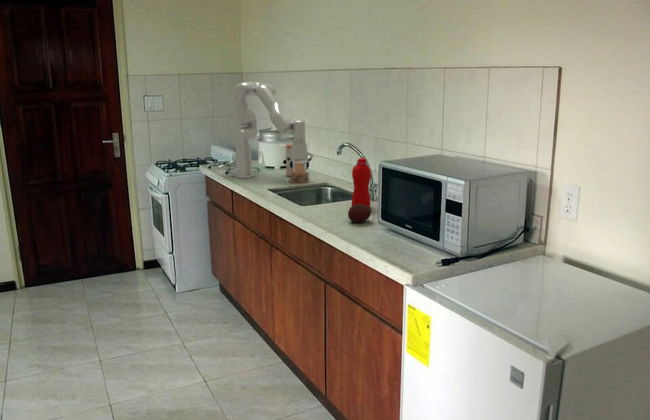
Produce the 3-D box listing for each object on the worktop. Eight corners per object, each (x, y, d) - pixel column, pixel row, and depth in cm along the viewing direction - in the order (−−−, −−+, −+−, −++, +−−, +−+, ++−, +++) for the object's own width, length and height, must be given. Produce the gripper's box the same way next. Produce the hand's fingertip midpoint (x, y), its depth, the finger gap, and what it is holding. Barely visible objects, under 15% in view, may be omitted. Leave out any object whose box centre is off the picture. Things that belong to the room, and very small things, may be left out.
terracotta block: (294, 174, 325) (294, 164, 324) (296, 172, 330) (295, 163, 328) (303, 174, 325) (302, 164, 323) (304, 172, 330) (303, 163, 328)
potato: (359, 217, 249) (359, 200, 247) (377, 222, 241) (377, 204, 239) (341, 221, 242) (342, 204, 240) (359, 227, 234) (360, 208, 232)
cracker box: (293, 177, 342) (292, 144, 336) (286, 176, 345) (285, 144, 340) (306, 174, 352) (306, 142, 347) (299, 172, 356) (299, 141, 351)
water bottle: (348, 205, 270) (348, 157, 264) (369, 205, 270) (370, 157, 264) (348, 210, 261) (348, 160, 255) (370, 210, 261) (371, 160, 255)
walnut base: (290, 183, 324) (290, 175, 323) (292, 179, 334) (292, 171, 333) (306, 183, 323) (306, 175, 322) (308, 180, 333) (308, 172, 332)
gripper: (284, 141, 319) (284, 169, 324) (312, 141, 318) (312, 169, 322) (286, 139, 326) (286, 167, 331) (313, 139, 325) (314, 167, 329)
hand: (299, 168), depth 326 cm, fingers open, 9 cm apart
